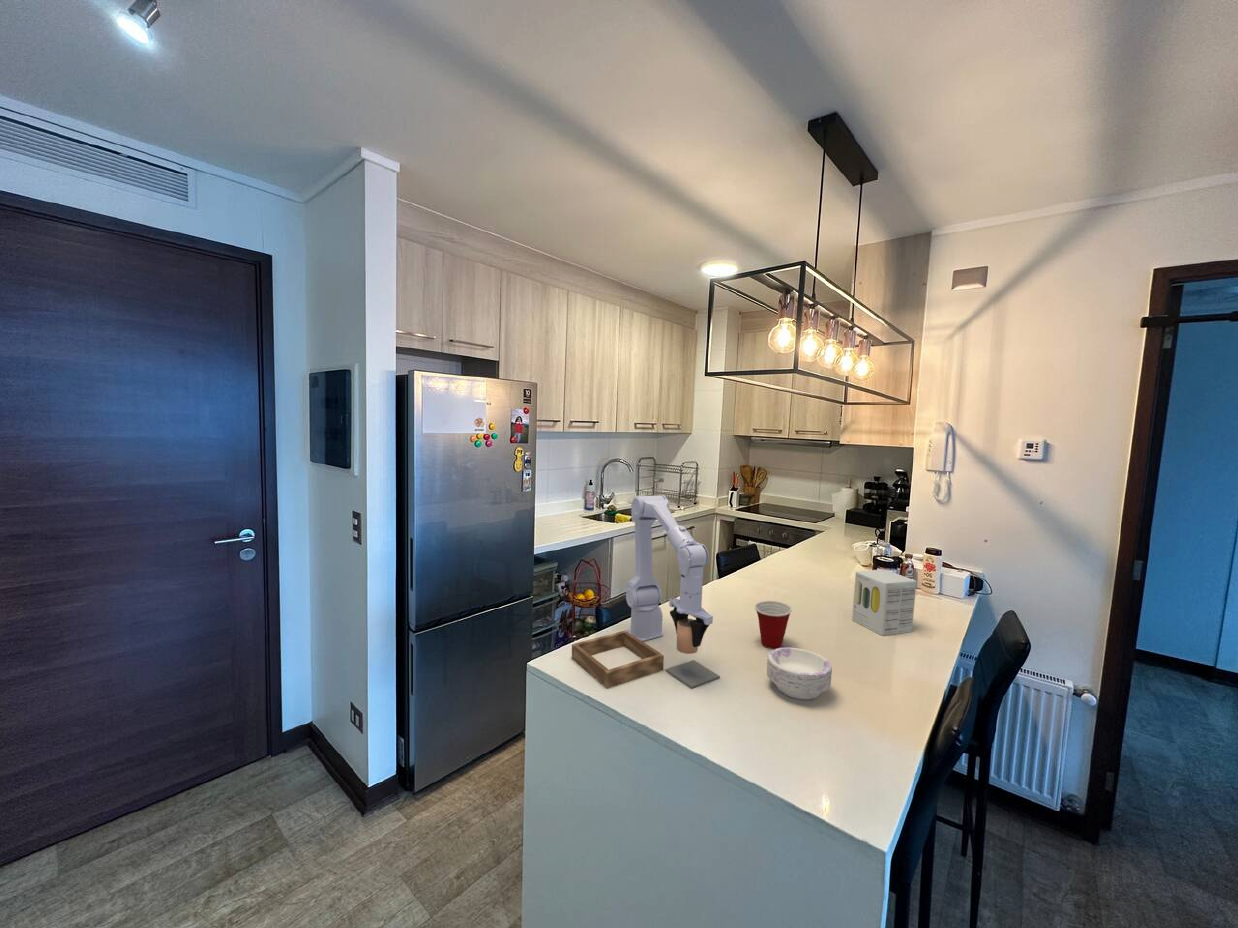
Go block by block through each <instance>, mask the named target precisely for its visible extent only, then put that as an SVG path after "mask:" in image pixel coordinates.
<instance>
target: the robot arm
mask: <svg viewBox="0 0 1238 928" xmlns="http://www.w3.org/2000/svg"><path fill="white" fill-rule="evenodd" d="M630 507H631V508H630V510H631V511H630V512H631V521H632V522H633V523H634V546H635V552H634V553H635V576H633V577H632V578H631V579H629V581H628V582H627V587H626V592H625V600H626V603H627V605H628V607H629V608H630V609H631V611H630V612H631V613H630V614H631V615H630V629H628V630H626V631H627V632H628V633H630V634H632V635H633V636H635V637H636V638H638V639H639V640H641V641H642V642H645V641H646V642H647V641H650V640H652V639H655V638H660V637H664V633H663V612H662V608H661V607H660V606H659V604H660V603H661V601H662V590H661V587H660V586H661V585H660V580H658V579H657V578H655V577H654V576H653V548H652V547H653V546H652V545H653V540H652V538H653V537H652V526H653V524H654V523H655V522H656V521H657V522H658V523H659V524H660V525H661V526H662V527H663V528H664V530H665V531H666V532H667V533H666V539H667V541H668V542H669V544H670V545H671V547H672V548H673V550H674V551H675V552H676V560H677V564H678V573H679V574H680V585H679V599H678V598H676V597H673V598H669V601H668V602H669V603H668V604H669V605H668V606H669V607H670V608H673V609H672V610H669V615H670V616H671V618H672V621H673V624H674V628H675V631H676V632H675V633H676V634H677V622H678V620H680V619H684V618H688V619H689V616H691V617H693V618H694V619H693V620H692V621H690V622H689V623H690V625H691V629H692V644H693V647H701V644H702V641H703V638H704V636H705V633H706V631H707V629H708V628H709V626H710V625H713V620H714V618H713V617H714V616H713V615H711V614H710V613H708V612H707V611H706V610H705V609H704V608H703V607H702V606H703V605H702V602H703V601H702V599H703V584H704V580H703V579H704V567H706V566H707V565H708V563H709V557H710V556H709V551H708V548H707V547H706V545H705V544H703V543H700V542H697V541H695V539H694V538H693V536H692V535H691V534H690V533H689V531H688V530H687V528H686V527H685V526H683V525H680V524H678V522H677V521H676V519H675V517H674V516H673V513H672V512H671V511H670V501H669V500H668V498H667V496H666V495H664V494H660V495H659V494H658V495H635V496H634V498H633V499H632V501H631V505H630Z"/></svg>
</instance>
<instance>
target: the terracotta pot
mask: <svg viewBox="0 0 1238 928" xmlns="http://www.w3.org/2000/svg"><path fill="white" fill-rule="evenodd" d="M692 620H694V619H693V618H689V617H688V618H684V619H680V620H678V622H677V633H676V650H677V651H678V652H680V653H681V654H686V655H693V654H695V653H698V650H699V648H698V647H699V646H698V647H693V644H692V629H691V625H690V623H689V622H690V621H692Z"/></svg>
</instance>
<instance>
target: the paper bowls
mask: <svg viewBox="0 0 1238 928" xmlns="http://www.w3.org/2000/svg"><path fill="white" fill-rule="evenodd" d="M766 659H767V662H766V675H767V678H769V680H770V681H771V682H773V684H775V686H776V688H777V689H778V690H779V691H780V692H781V693H783V694H784V695H786V696H789V697H790V698H795V699H798V700H813V699H816V698H817V697H818V696H819V695H820V694H822V693H825V692H827V691H829V690H830V688H831V685H832V676H833V675H832V673H833V666H832V664H831V663H830V661H829V660H828V659H827V658H826V657H825V656H823V655H820V654H819V653H817V652H814V651H811V650H808V649H803V648H799V647H780V648H778V649H771V651H769V652H768V654H767V658H766ZM819 697H820V696H819Z"/></svg>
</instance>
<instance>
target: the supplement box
mask: <svg viewBox="0 0 1238 928" xmlns="http://www.w3.org/2000/svg"><path fill="white" fill-rule="evenodd" d="M853 590H854V591H853V604H852V615H851V616H852V617H851V621H853V620H854V621H853V622H854V623H856V624H858V623H859V624H858V625H860V624H861V625H860V626H862V625H863V626H862V627H864V628H866V629H868V630H870V631H873V632H874V633H876V634H878V635H880V636H891V635H898V634H899V635H900V634H906V633H912V632H913V623H914V611H915V603H916V602H915V599H916V591H917V580H915V579H913V578H909V577H907V576H904V575H901V574H898V573H895V572H892V571H890V570H887V569H883V568H881V569H870V570H859V571H855V576H854V589H853Z"/></svg>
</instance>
